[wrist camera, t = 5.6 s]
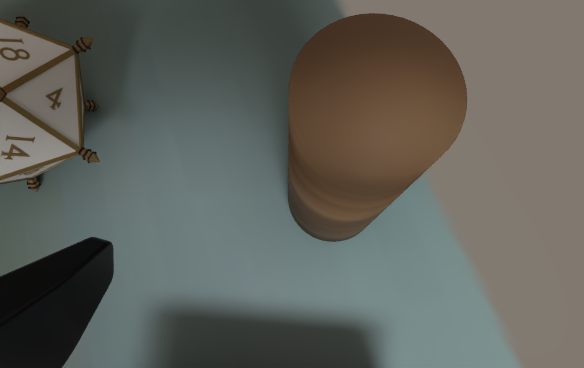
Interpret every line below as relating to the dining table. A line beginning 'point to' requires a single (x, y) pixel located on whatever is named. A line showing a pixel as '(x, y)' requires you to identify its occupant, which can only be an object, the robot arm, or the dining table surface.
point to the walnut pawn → (367, 119)
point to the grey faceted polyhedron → (39, 103)
